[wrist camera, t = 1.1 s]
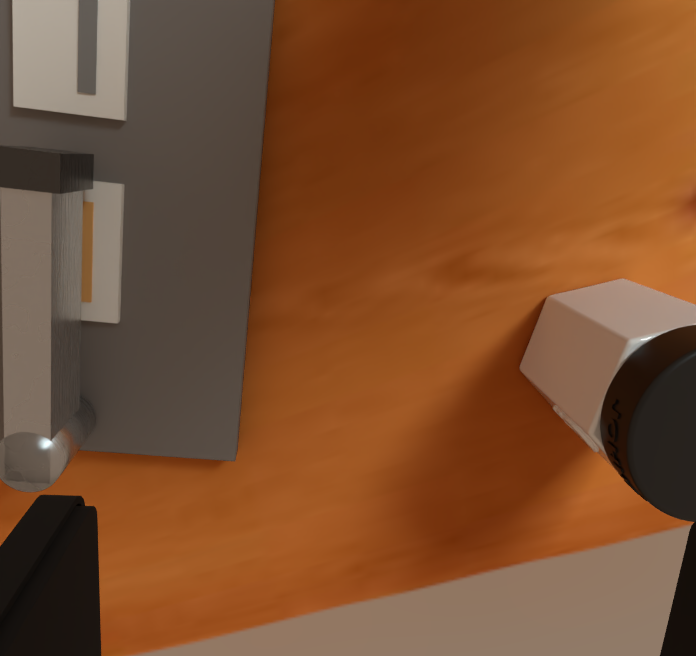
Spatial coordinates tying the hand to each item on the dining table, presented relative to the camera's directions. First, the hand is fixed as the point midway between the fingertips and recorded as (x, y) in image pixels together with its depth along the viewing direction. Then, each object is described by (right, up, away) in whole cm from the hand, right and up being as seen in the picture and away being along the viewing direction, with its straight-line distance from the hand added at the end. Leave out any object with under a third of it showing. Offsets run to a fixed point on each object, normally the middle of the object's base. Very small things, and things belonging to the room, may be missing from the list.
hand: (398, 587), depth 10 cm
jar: (+14, +3, +28) cm, 31 cm away
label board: (-15, +10, +23) cm, 29 cm away
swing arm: (-15, +5, +23) cm, 28 cm away
